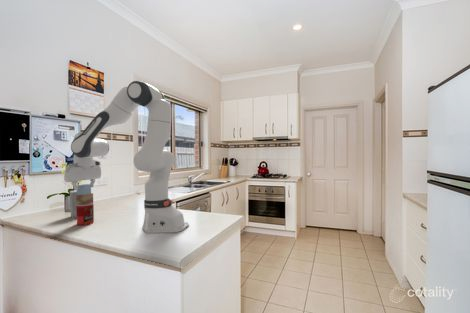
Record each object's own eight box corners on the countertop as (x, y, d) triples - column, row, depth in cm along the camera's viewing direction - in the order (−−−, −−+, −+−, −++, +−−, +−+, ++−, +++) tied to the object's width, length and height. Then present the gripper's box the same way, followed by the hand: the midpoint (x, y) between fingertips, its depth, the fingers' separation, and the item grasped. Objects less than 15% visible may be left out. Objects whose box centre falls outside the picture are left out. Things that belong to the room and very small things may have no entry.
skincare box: (85, 213, 145) (85, 188, 145) (88, 215, 140) (88, 189, 140) (69, 216, 139) (69, 190, 139) (72, 218, 134) (71, 191, 134)
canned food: (85, 226, 119) (85, 205, 119) (72, 225, 120) (72, 204, 120) (97, 221, 126) (96, 202, 126) (85, 221, 128) (84, 201, 128)
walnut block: (93, 202, 125) (93, 193, 125) (84, 204, 120) (84, 195, 120) (84, 202, 127) (84, 193, 127) (76, 204, 121) (75, 194, 121)
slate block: (91, 193, 125) (90, 184, 125) (84, 194, 121) (84, 185, 121) (84, 193, 126) (83, 184, 126) (77, 194, 122) (76, 185, 122)
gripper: (71, 163, 112) (71, 191, 113) (102, 162, 132) (103, 186, 133) (60, 163, 114) (61, 191, 114) (93, 162, 134) (94, 186, 134)
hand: (84, 188), depth 123 cm, fingers open, 8 cm apart
